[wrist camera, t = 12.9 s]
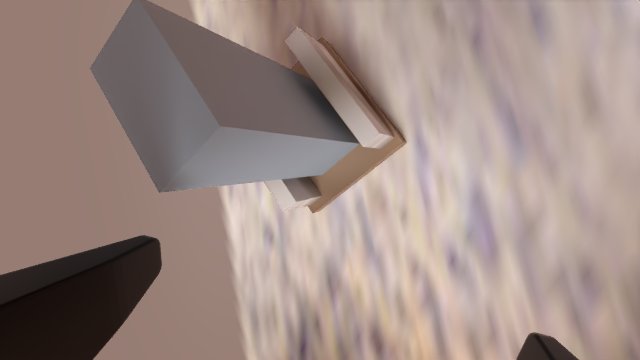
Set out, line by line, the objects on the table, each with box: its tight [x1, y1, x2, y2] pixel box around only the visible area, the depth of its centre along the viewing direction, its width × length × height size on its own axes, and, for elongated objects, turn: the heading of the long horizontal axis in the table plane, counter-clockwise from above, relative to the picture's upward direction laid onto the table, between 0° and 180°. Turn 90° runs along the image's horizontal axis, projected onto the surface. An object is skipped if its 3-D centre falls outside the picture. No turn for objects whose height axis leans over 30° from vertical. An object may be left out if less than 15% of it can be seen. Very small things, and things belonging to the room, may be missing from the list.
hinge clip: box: [264, 26, 406, 213], centre depth 19 cm, size 8×7×4 cm
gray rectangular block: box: [90, 0, 359, 193], centre depth 15 cm, size 6×3×12 cm, turn 37°
